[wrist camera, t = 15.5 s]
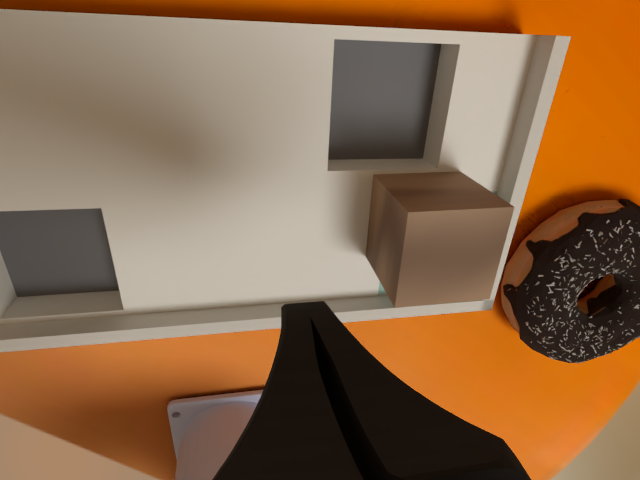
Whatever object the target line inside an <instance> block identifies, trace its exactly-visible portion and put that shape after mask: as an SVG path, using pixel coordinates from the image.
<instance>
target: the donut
mask: <svg viewBox="0 0 640 480" xmlns="http://www.w3.org/2000/svg"><path fill="white" fill-rule="evenodd" d="M598 277H599V278H600V277H603V278H602V279H601V280H600V281H599V282H598V283H597V285H596V287H595V288H594V290H592V291H591V292H590V293H588V294H587V295H586V296H585V297H583V298H581V299H579V300H577V299H578V295H579V294H580V293H581V292H582V291H583V289H584V288H585V287H586V286H587V285H588V283H590V282H591V281H592V280H595V279H596V278H598ZM501 300H502V307H503V310H504V312H505V314H506V316H507V318H508V320H509V322H510V324H511V326H512V327H513V328H514V329H515V330H516V331H517V332H518V333H519V336H520V339H521V340H522V341H523V342H524V343H525V344H526V345H528V346H529V347H530V348H531V349H533V350H535V351H537V352H539V353H541V354H543V355H545V356H547V357H549V358H550V359H554V360H559V361H563V362H568V363H580V362H582V363H583V362H585V361H588V360H591V359H594V358H597V357H599V356H603V355H606V354H608V353H612V351H615V350H619V348H621V347H623V346H625V345H626V344H629V342H631V341H633V340H634V339H636V338H639V337H640V207H639V206H638V205H636V204H635V203H633V202H631V201H630V200H627V199H619V201H617V200H601V201H587V202H584V203H581V204H578V205H574V206H571V207H568V208H565V209H562V210H560V211H559V212H557V213H556V214H554V215H553V216H551V217H550V218H548V219H547V220H545V221H544V222H542V223H541V224H540V225H538V226H537V227H536V228H535V229H534V230H533V231H532V232H531V233H530V234H529V235H528V236H527V237H526V238H525V239H524V240H523V241H522V242H521V243H520V245H519V246H518V248H517V249H516V251H515V252H514V254H513V255H512V257H511V258H510V260H509V261H508V263H507V264H506V267H505V271H504V275H503V279H502V283H501Z"/></svg>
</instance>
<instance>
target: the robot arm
mask: <svg viewBox="0 0 640 480" xmlns="http://www.w3.org/2000/svg"><path fill="white" fill-rule="evenodd" d="M167 412H168V417H169V423H170V428H171V433H172V439H173V444H174V449H175V455H176V460H177V465H176V473H175V480H531V479H530V477H529V476H528V474H527V473H526V471H525V469H524V468H523V466H522V465H521V463H520V462H519V460H518V459H517V457H516V456H515V454H514V453H513V452H512V450H511V449H510V448H509V447H508V445H507V444H506V443H505V441H504V440H503V439H501V438H499V437H497V436H495V435H493V434H491V433H489V432H487V431H485V430H483V429H481V428H479V427H476V426H474V425H472V424H470V423H468V422H466V421H464V420H462V419H461V418H459V417H457V416H455V415H454V414H452V413H450V412H448V411H446V410H445V409H443V408H441V407H440V406H438V405H436V404H435V403H433V402H432V401H430V400H429V399H427V398H426V397H424V396H423V395H421V394H420V393H418V392H417V391H415V390H414V389H412V388H411V387H409V386H408V385H407V384H405V383H404V382H403V381H401V380H400V379H399V378H398V377H396V376H395V375H394V374H393V373H391V372H390V371H389V370H388V369H387V368H385V367H384V366H383V365H382V364H381V363H380V362H379V361H378V360H377V359H376V358H375V357H374V356H372V355H371V354H370V353H369V352H368V351H367V350H366V349H365V348H364V347H363V346H362V345H361V344H360V342H359V341H358V340H357V339H356V338H355V337H354V336H353V335H352V334H351V333H350V332H349V331H348V329H347V328H346V327H345V326H344V325H343V324H342V322H341V321H340V320H339V319H338V318H337V316H336V315H335V314H334V313H333V311H332V310H331V309H330V307H329V306H328V305H327V304H326V303H325V302H324V301H316V302H303V303H290V304H284V305H283V306H282V307H281V334H280V339H279V343H278V348H277V352H276V355H275V359H274V362H273V365H272V368H271V371H270V374H269V377H268V380H267V382H266V385H265V387H264V390H255V391H246V392H238V393H229V394H220V395H211V396H202V397H193V398H185V399H176V400H172V401H170V402H169V403H168V407H167ZM175 412H178V413H175Z"/></svg>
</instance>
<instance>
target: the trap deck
mask: <svg viewBox="0 0 640 480" xmlns="http://www.w3.org/2000/svg"><path fill="white" fill-rule="evenodd" d="M570 38H571V36H550V35H528V34H507V33H486V32H466V31H445V30H425V29H404V28H383V27H363V26H342V25H322V24H301V23H280V22H260V21H239V20H219V19H198V18H178V17H157V16H136V15H116V14H95V13H75V12H54V11H33V10H13V9H0V352H11V351H22V350H34V349H45V348H57V347H68V346H80V345H91V344H103V343H114V342H126V341H137V340H149V339H160V338H172V337H183V336H195V335H206V334H218V333H229V332H241V331H252V330H264V329H275V328H281V307H282V306H283V305H284V304H290V303H303V302H316V301H324V302H325V303H326V304H327V305H328V306H329V307H330V309H331V310H332V311H333V313H334V314H335V315H336V316H337V318H338V319H339V320H340V321H341V322H342V323H344V322H356V321H367V320H379V319H390V318H402V317H413V316H425V315H436V314H448V313H459V312H471V311H482V310H492V306H493V303H494V300H495V296H496V293H497V289H498V286H499V282H500V279H501V275H502V272H503V269H504V265H505V262H506V258H507V255H508V251H509V248H510V245H511V241H512V238H513V234H514V231H515V227H516V224H517V220H518V217H519V214H520V210H521V207H522V203H523V200H524V196H525V193H526V190H527V186H528V183H529V179H530V176H531V172H532V169H533V165H534V162H535V159H536V155H537V152H538V148H539V145H540V141H541V138H542V135H543V131H544V128H545V124H546V121H547V117H548V114H549V110H550V107H551V104H552V100H553V97H554V93H555V90H556V86H557V83H558V80H559V76H560V73H561V69H562V66H563V62H564V59H565V55H566V52H567V49H568V45H569V42H570ZM430 172H462V173H463V174H465V175H467V176H468V177H470V178H471V179H473V180H474V181H476V182H477V183H479V184H480V185H482V186H483V187H485V188H486V189H488V190H489V191H491V192H492V193H494V194H495V195H497V196H499V197H500V198H502V199H503V200H505V201H506V202H508V203H509V204H511V205H512V206H514V211H513V215H512V218H511V222H510V226H509V229H508V233H507V237H506V241H505V244H504V248H503V252H502V255H501V259H500V263H499V267H498V270H497V274H496V278H495V281H494V285H493V289H492V292H491V296H490V299H486V300H476V301H465V302H454V303H443V304H433V305H422V306H411V307H401V308H394V306H393V304H392V302H391V301H390V299H389V297H388V295H387V293H386V292H385V290H384V288H383V286H382V285H381V283H380V281H379V279H378V277H377V276H376V274H375V272H374V270H373V269H372V267H371V265H370V263H369V262H368V260H367V258H366V246H367V236H368V225H369V214H370V203H371V193H372V182H373V174H400V173H430Z"/></svg>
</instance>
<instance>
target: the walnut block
mask: <svg viewBox="0 0 640 480" xmlns="http://www.w3.org/2000/svg"><path fill="white" fill-rule="evenodd" d="M513 211H514V206H512V205H511V204H509V203H508V202H506V201H505V200H503V199H502V198H500V197H499V196H497V195H495V194H494V193H492V192H491V191H489V190H488V189H486V188H485V187H483V186H482V185H480V184H479V183H477V182H476V181H474V180H473V179H471V178H470V177H468V176H467V175H465V174H463V173H462V172H430V173H400V174H373V182H372V193H371V203H370V214H369V225H368V236H367V246H366V258H367V260H368V262H369V263H370V265H371V267H372V269H373V270H374V272H375V274H376V276H377V277H378V279H379V281H380V283H381V285H382V286H383V288H384V290H385V292H386V293H387V295H388V297H389V299H390V301H391V302H392V304H393V306H394V308H401V307H411V306H422V305H433V304H443V303H454V302H465V301H476V300H486V299H490V296H491V292H492V289H493V285H494V281H495V278H496V274H497V270H498V267H499V263H500V259H501V255H502V252H503V248H504V244H505V241H506V237H507V233H508V229H509V226H510V222H511V218H512V215H513Z"/></svg>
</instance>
